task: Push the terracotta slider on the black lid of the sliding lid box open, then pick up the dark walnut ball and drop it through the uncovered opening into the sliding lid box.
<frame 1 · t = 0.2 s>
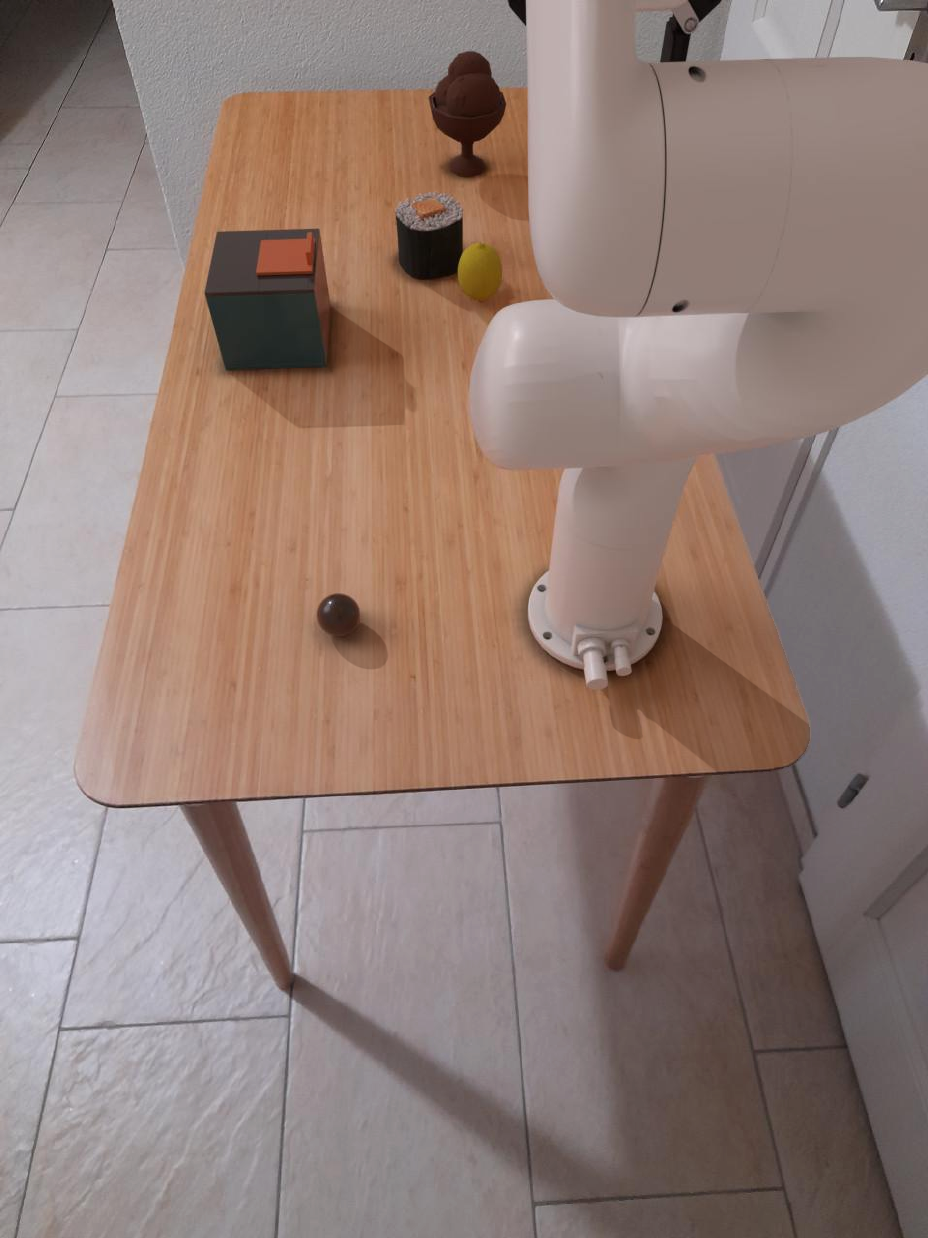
hand: (603, 85, 68), 37 cm above the table, tool pointing down, fingers open, 9 cm apart
sushi: (431, 262, 118), on the table
ball: (338, 614, 82), point 2 cm above the table
lemon: (479, 302, 113), on the table
sliding lid box: (279, 336, 108), on the table
slider: (285, 250, 99), point 12 cm above the table, slide at 0.0 cm
ice cream bowl: (467, 168, 132), on the table
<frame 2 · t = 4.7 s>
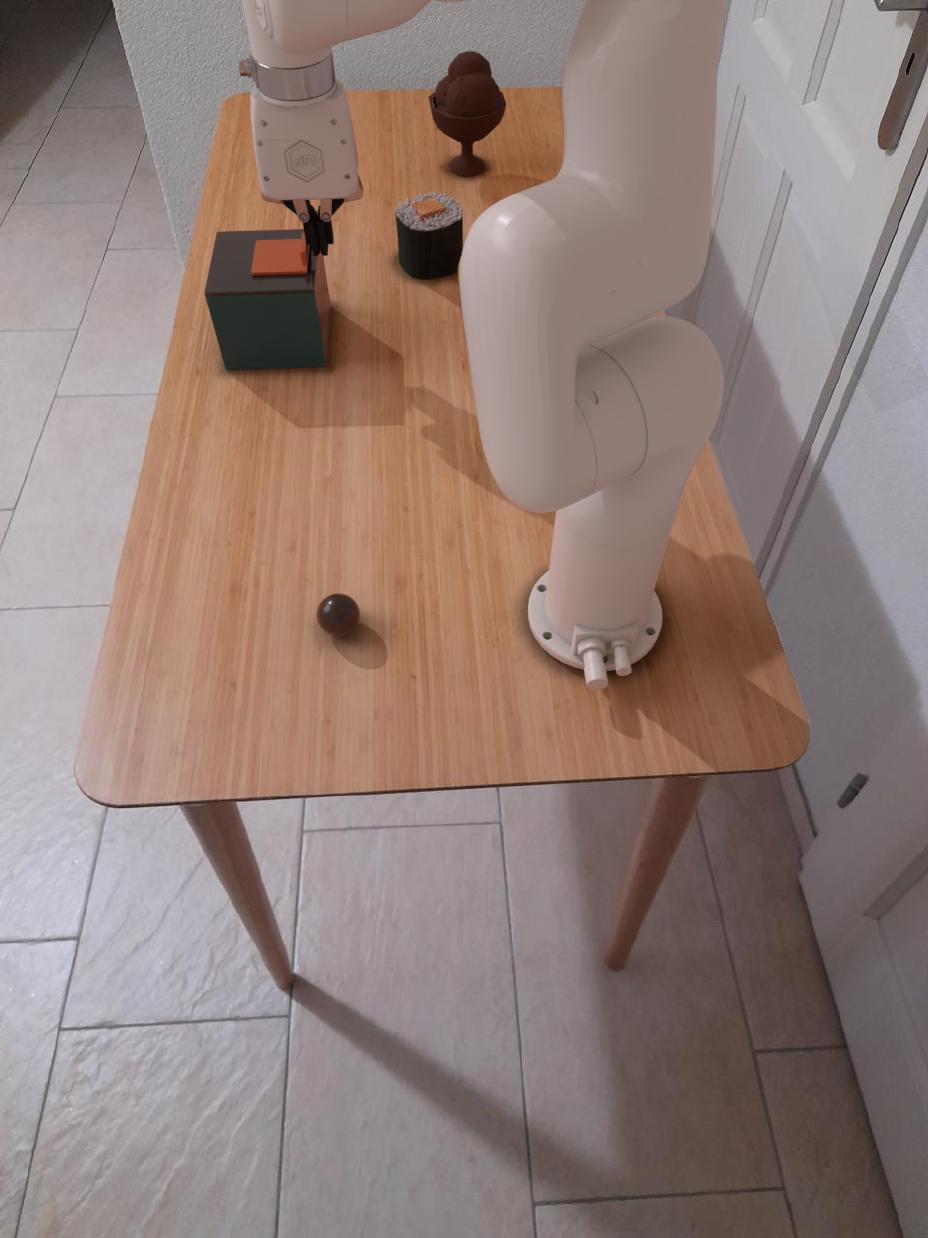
hand: (321, 248, 99), 12 cm above the table, tool pointing down, fingers closed
slider: (280, 250, 99), point 12 cm above the table, slide at 0.6 cm, touching gripper
everything else where it was.
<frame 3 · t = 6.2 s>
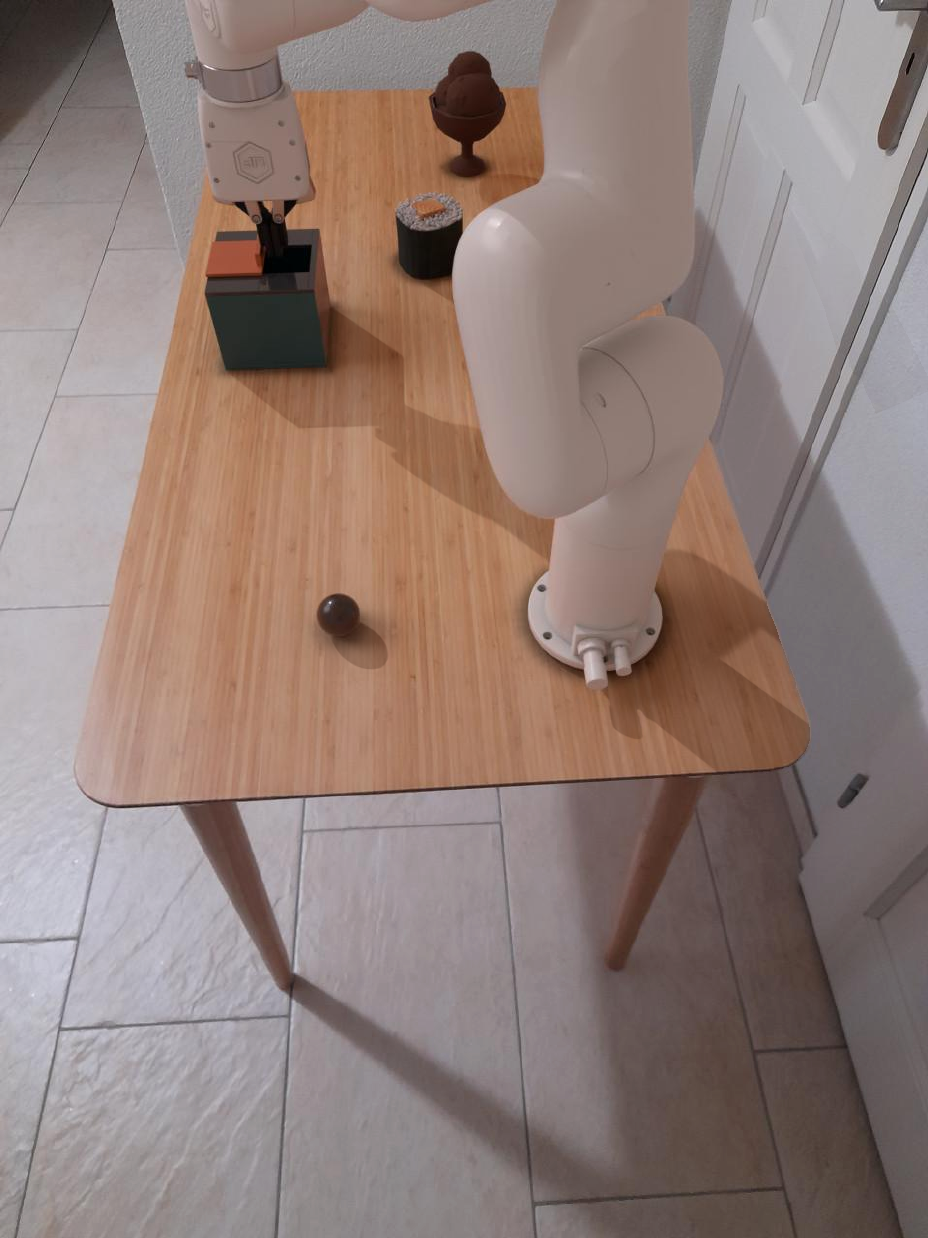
hand: (276, 250, 99), 12 cm above the table, tool pointing down, fingers closed
slider: (235, 251, 99), point 12 cm above the table, slide at 5.6 cm, touching gripper
everything else where it was.
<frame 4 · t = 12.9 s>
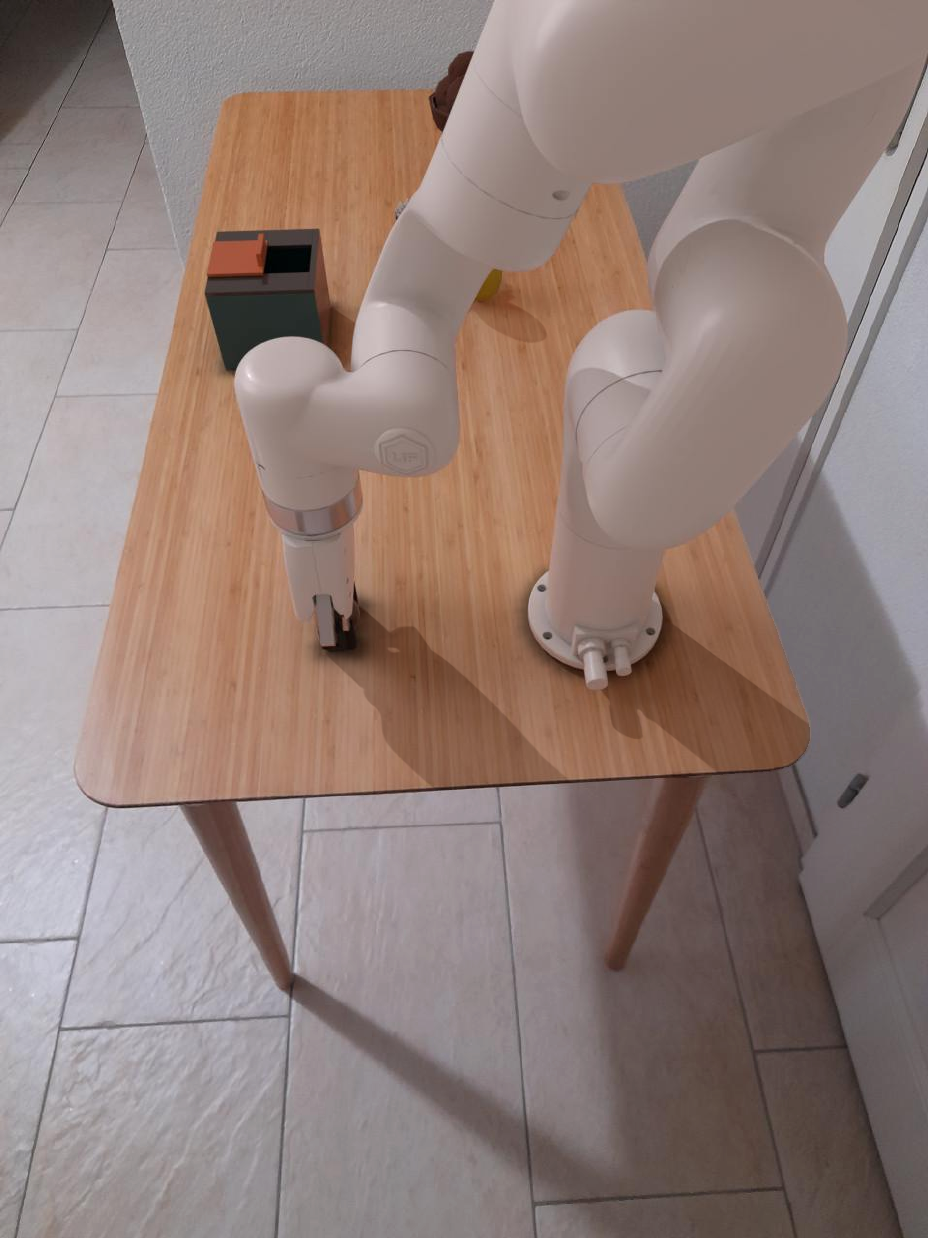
hand: (340, 625, 83), 0 cm above the table, tool pointing down, fingers closed on ball, 3 cm apart
ball: (338, 614, 82), point 2 cm above the table, touching gripper
slider: (236, 251, 99), point 11 cm above the table, slide at 5.5 cm
everything else where it was.
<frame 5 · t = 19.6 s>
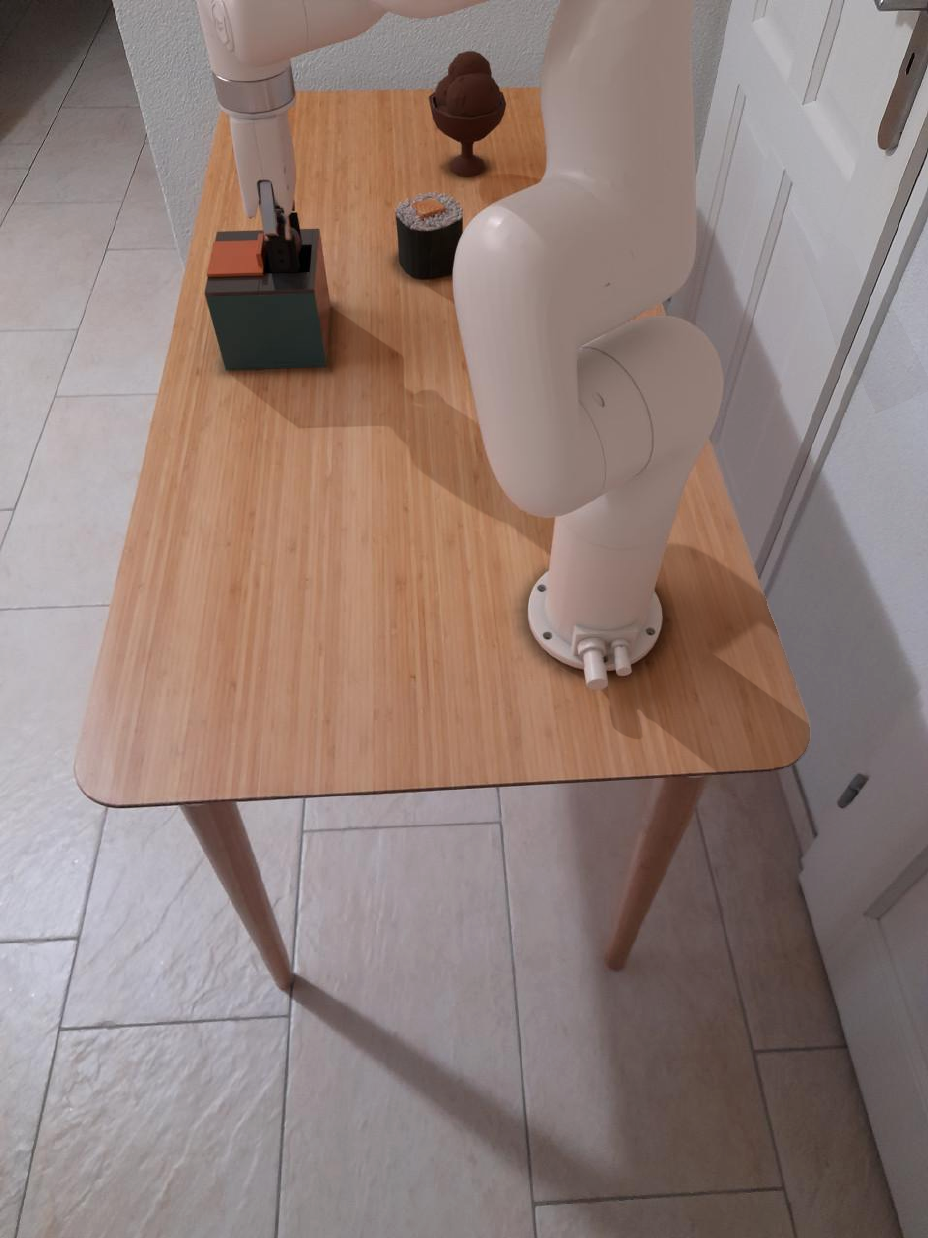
hand: (286, 257, 100), 11 cm above the table, tool pointing down, fingers closed on ball, 3 cm apart
ball: (283, 242, 98), point 12 cm above the table, touching gripper
everything else where it was.
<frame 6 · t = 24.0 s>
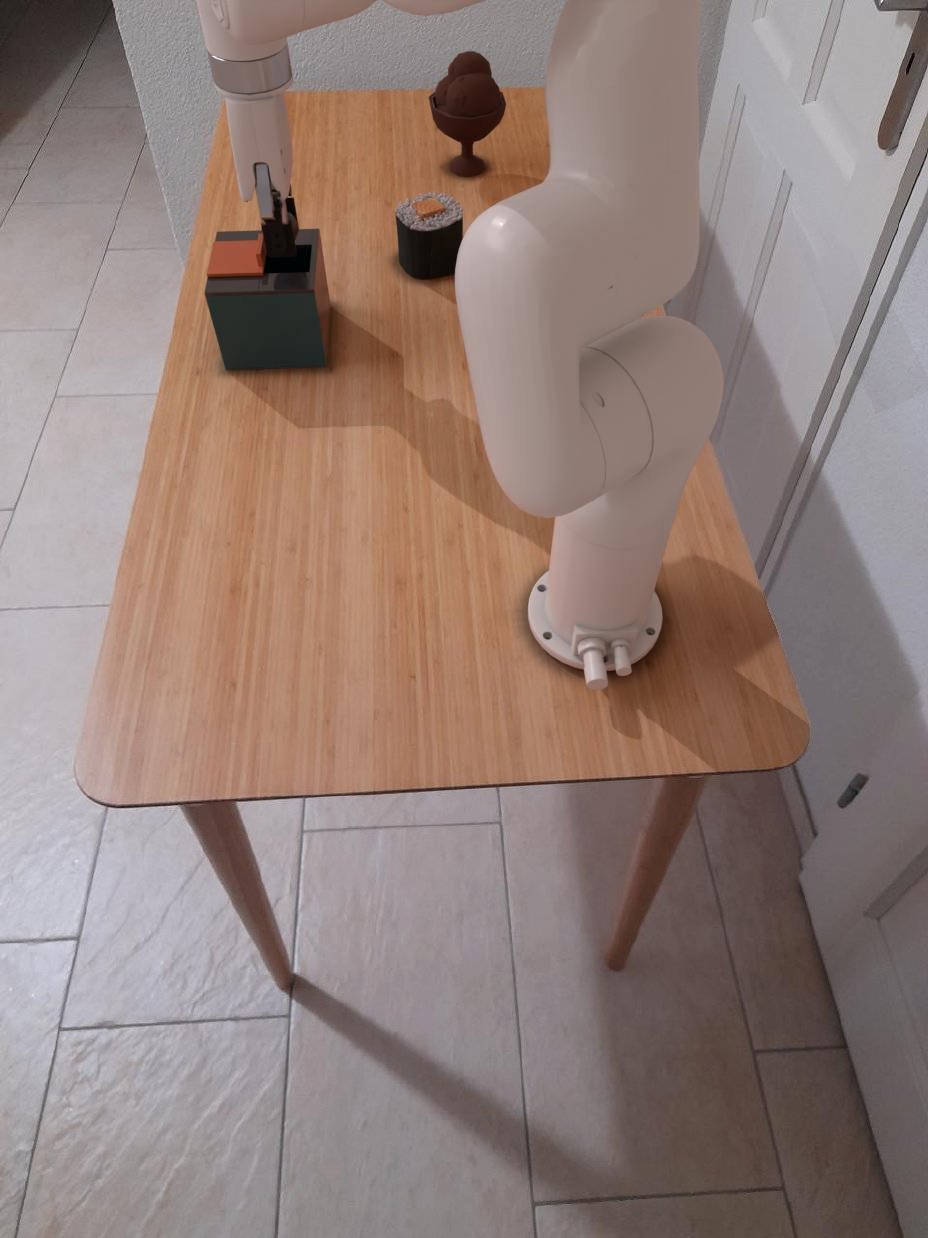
hand: (283, 242, 98), 12 cm above the table, tool pointing down, fingers closed on ball, 3 cm apart
ball: (279, 227, 97), point 14 cm above the table, touching gripper
everything else where it was.
when the fingers open (12 cm above the table, at t = 27.2 s): ball drops 12 cm and tips over, resting on sliding lid box.
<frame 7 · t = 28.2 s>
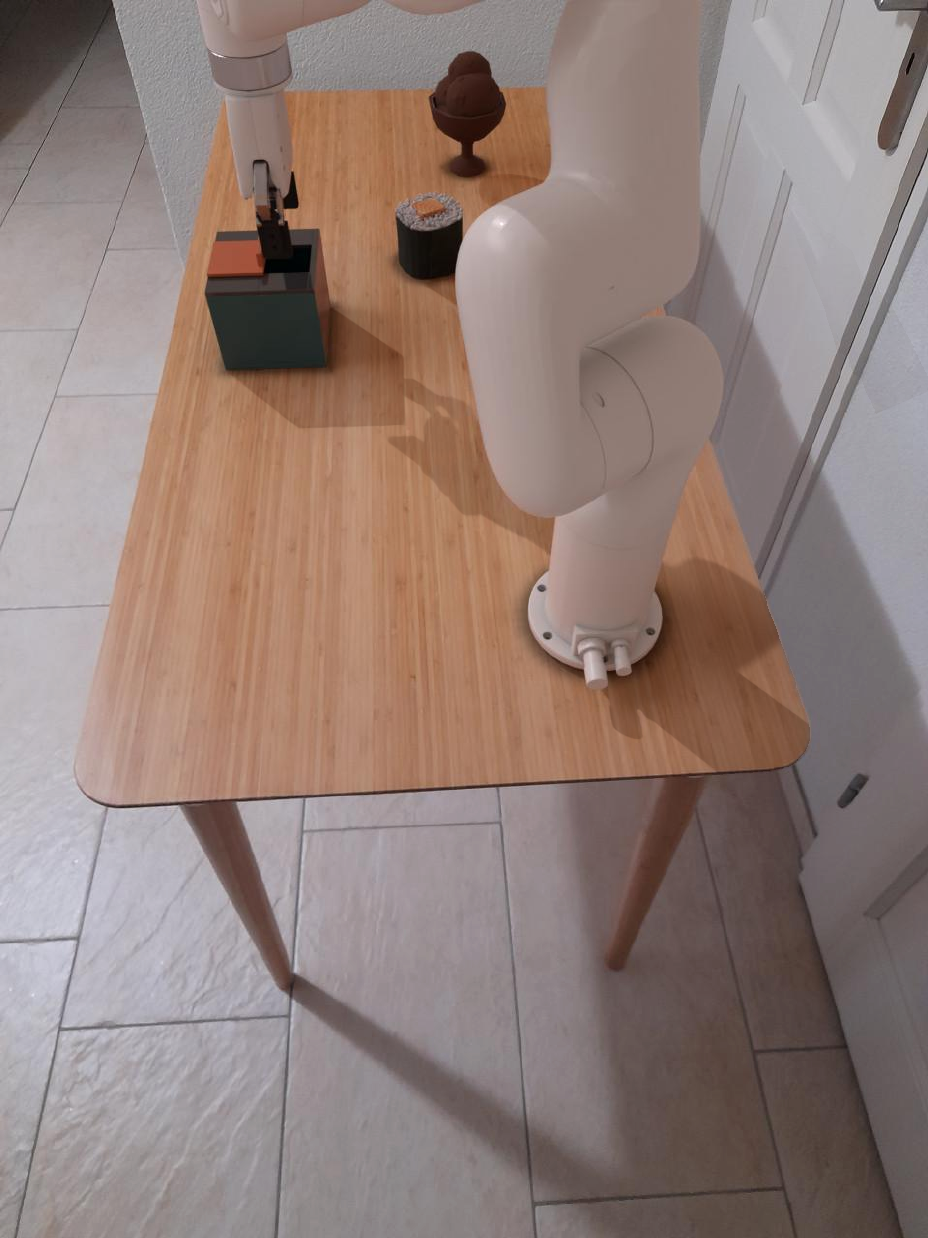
hand: (282, 231, 97), 14 cm above the table, tool pointing down, fingers open, 9 cm apart
ball: (294, 310, 107), point 3 cm above the table, tilted 51°, touching sliding lid box
everything else where it was.
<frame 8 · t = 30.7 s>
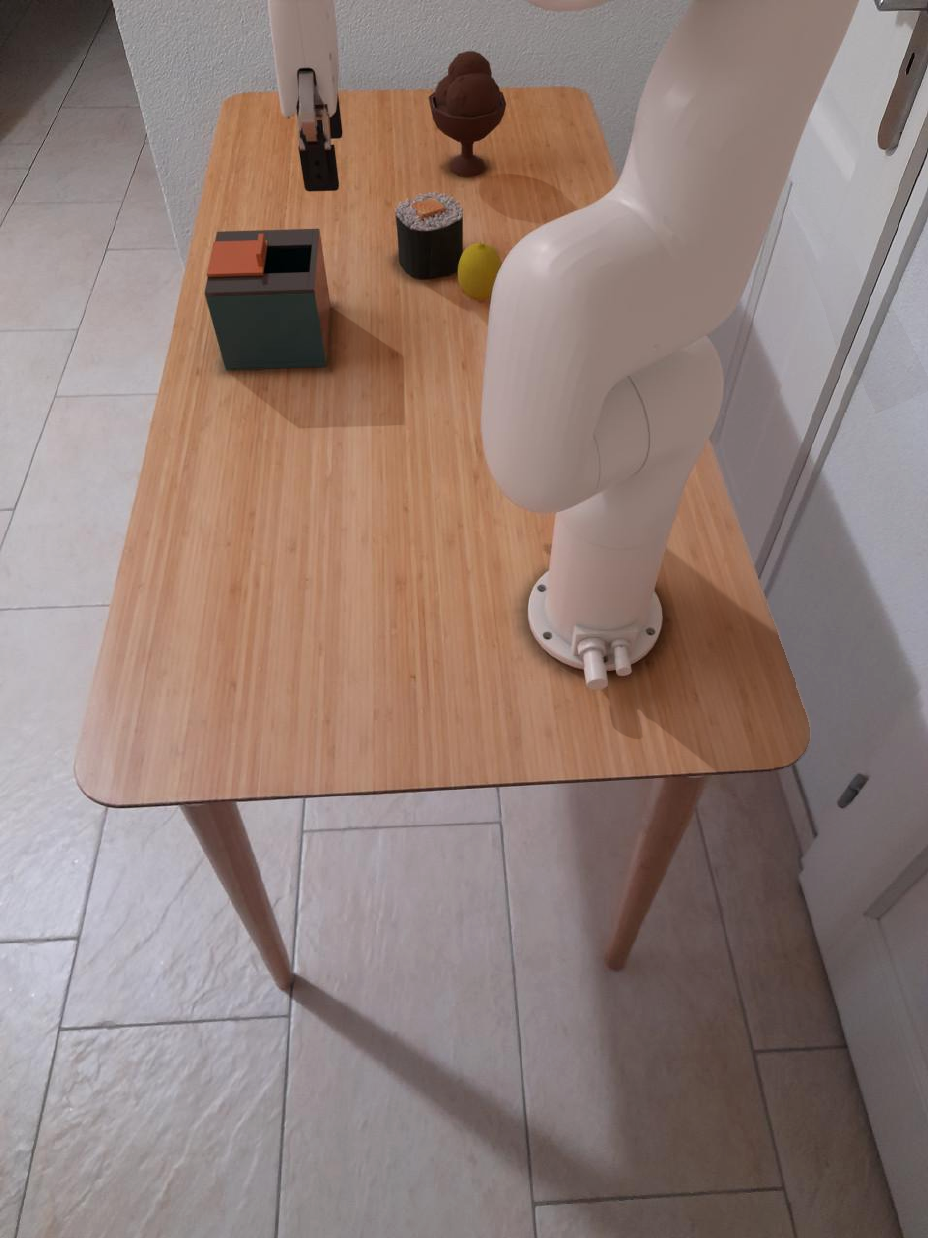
hand: (324, 162, 85), 24 cm above the table, tool pointing down, fingers open, 9 cm apart
ball: (291, 302, 108), point 3 cm above the table, tilted 98°, touching sliding lid box
everything else where it was.
at the end: slider slide at 5.5 cm; ball inside the target area on the sliding lid box (3.5 cm from its centre), point 2.6 cm above the sliding lid box's base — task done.
